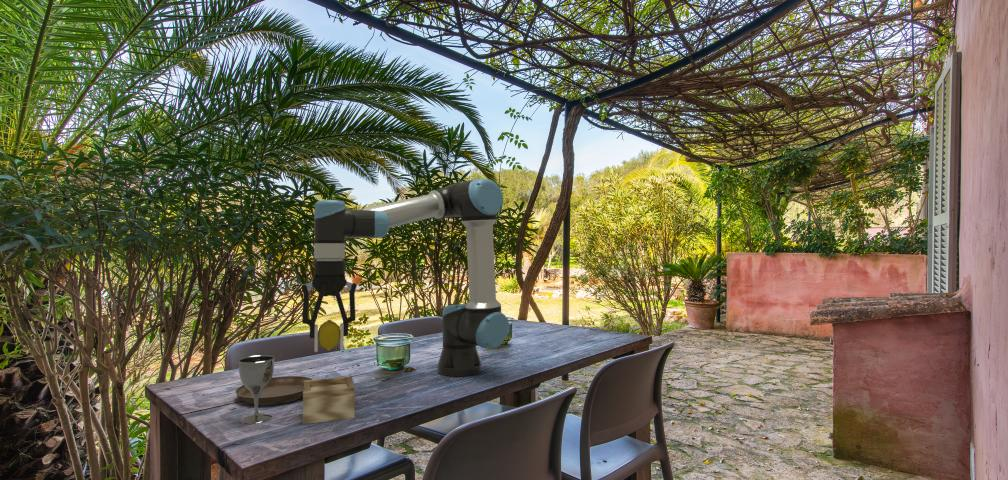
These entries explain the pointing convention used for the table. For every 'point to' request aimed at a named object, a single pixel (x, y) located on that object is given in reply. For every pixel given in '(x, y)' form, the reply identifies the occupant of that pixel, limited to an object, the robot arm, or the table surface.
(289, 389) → the plant saucer
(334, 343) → the lemon
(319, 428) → the table surface
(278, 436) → the table surface
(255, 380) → the wine glass
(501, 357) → the table surface
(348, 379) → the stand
